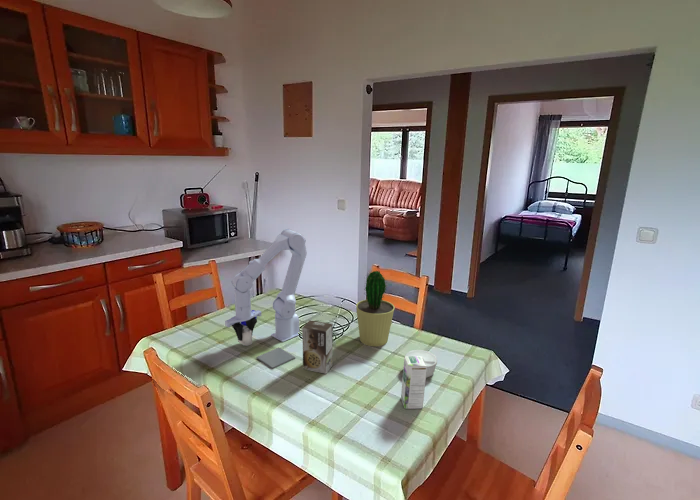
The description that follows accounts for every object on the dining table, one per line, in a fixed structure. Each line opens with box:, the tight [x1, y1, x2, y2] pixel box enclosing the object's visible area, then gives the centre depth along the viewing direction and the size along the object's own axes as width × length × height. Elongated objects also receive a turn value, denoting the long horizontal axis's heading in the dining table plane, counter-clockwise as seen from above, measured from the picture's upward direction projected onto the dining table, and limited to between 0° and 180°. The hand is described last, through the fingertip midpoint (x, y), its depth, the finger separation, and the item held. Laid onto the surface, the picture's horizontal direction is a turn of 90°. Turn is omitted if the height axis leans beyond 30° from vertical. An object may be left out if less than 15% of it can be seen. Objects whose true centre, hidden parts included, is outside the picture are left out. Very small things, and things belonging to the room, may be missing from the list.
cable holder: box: [240, 309, 258, 327], centre depth 166 cm, size 8×4×4 cm, turn 154°
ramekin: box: [404, 349, 438, 379], centre depth 131 cm, size 11×11×5 cm
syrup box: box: [400, 356, 427, 410], centre depth 112 cm, size 6×6×14 cm
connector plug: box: [237, 325, 253, 346], centre depth 144 cm, size 4×7×6 cm, turn 47°
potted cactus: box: [355, 270, 396, 347], centre depth 149 cm, size 15×15×30 cm
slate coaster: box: [256, 347, 296, 370], centre depth 137 cm, size 10×10×1 cm
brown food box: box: [301, 320, 334, 375], centre depth 130 cm, size 9×6×16 cm
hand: (244, 337), depth 145 cm, fingers closed on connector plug, 4 cm apart
